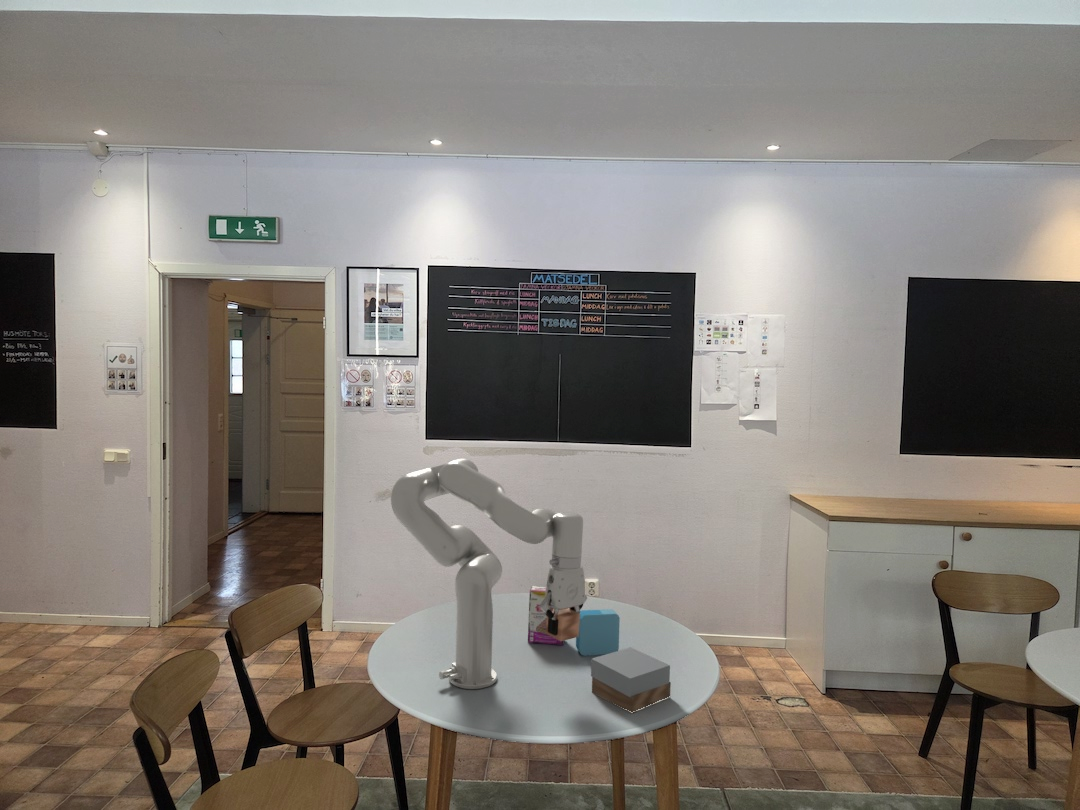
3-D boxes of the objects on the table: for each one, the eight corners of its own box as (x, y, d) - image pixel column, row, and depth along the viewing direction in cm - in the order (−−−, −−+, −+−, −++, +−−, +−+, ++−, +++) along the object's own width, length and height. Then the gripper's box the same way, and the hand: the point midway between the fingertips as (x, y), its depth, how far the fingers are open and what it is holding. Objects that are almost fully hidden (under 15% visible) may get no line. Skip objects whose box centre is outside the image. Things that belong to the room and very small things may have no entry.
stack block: (561, 641, 166) (562, 617, 166) (545, 633, 170) (547, 610, 170) (578, 636, 170) (579, 613, 169) (563, 629, 174) (564, 606, 174)
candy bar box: (527, 643, 201) (528, 590, 201) (529, 637, 206) (530, 585, 206) (564, 646, 200) (565, 592, 200) (565, 639, 205) (566, 587, 205)
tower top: (629, 697, 159) (630, 678, 158) (591, 676, 170) (591, 658, 170) (669, 682, 167) (669, 665, 167) (630, 663, 178) (630, 647, 178)
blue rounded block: (614, 648, 200) (615, 608, 199) (618, 654, 195) (620, 613, 195) (575, 650, 197) (576, 610, 197) (579, 656, 193) (580, 615, 192)
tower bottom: (632, 715, 159) (632, 697, 159) (591, 694, 170) (592, 676, 169) (670, 699, 168) (670, 682, 167) (629, 680, 178) (629, 663, 178)
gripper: (550, 569, 161) (546, 642, 162) (600, 560, 172) (596, 629, 173) (530, 562, 167) (527, 633, 167) (580, 554, 178) (577, 620, 178)
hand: (562, 630), depth 170 cm, fingers closed on stack block, 6 cm apart
